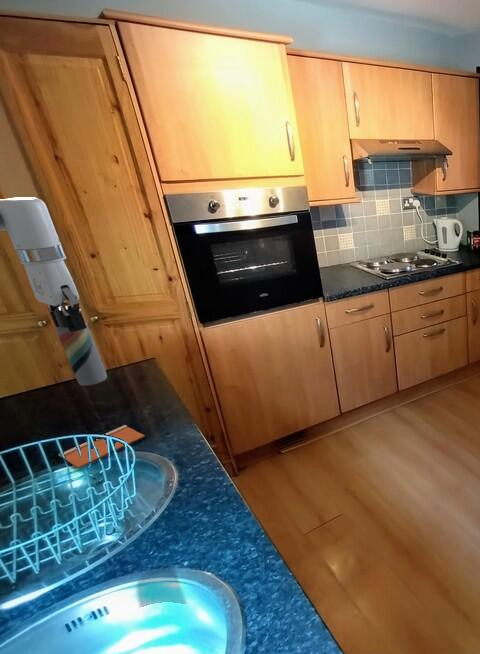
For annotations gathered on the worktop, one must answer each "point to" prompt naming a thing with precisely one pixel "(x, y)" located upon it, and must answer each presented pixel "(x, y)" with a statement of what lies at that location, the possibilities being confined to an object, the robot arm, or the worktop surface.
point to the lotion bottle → (80, 352)
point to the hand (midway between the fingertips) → (71, 327)
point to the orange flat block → (101, 446)
